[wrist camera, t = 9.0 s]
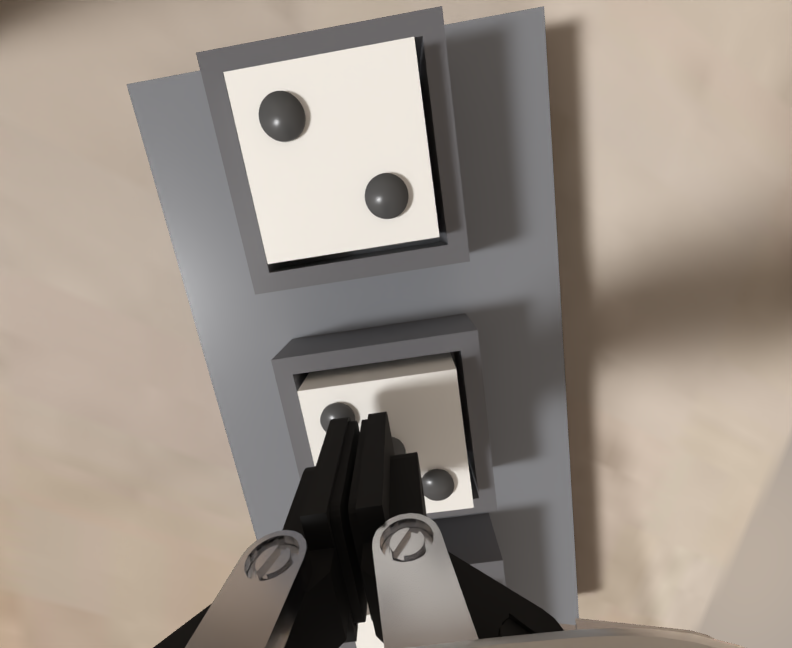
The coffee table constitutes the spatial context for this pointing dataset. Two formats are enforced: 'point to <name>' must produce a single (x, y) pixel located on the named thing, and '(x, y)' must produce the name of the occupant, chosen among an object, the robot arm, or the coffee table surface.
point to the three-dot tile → (400, 417)
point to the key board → (393, 284)
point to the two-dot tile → (336, 150)
